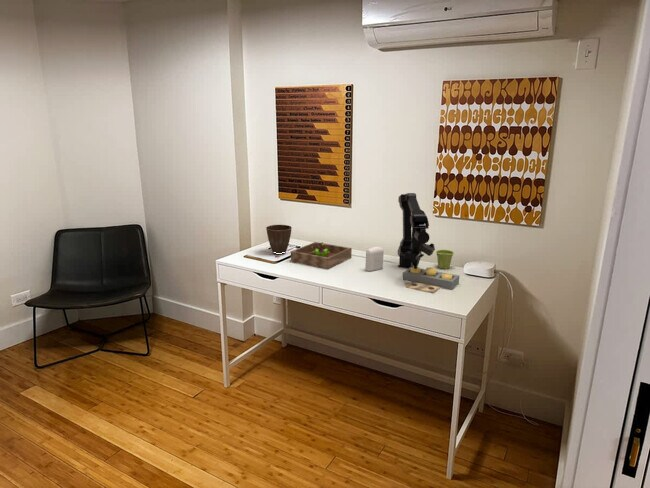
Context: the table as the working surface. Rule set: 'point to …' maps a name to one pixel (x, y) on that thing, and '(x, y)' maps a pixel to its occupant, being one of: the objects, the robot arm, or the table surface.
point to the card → (422, 287)
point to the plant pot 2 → (444, 258)
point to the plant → (321, 251)
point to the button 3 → (447, 276)
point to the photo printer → (374, 259)
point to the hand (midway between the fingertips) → (415, 268)
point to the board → (431, 279)
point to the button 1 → (416, 270)
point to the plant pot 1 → (279, 238)
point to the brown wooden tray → (319, 261)
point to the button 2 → (431, 271)
